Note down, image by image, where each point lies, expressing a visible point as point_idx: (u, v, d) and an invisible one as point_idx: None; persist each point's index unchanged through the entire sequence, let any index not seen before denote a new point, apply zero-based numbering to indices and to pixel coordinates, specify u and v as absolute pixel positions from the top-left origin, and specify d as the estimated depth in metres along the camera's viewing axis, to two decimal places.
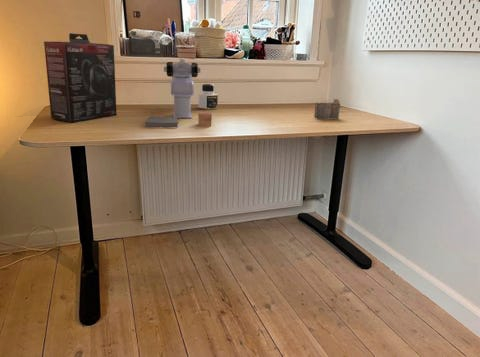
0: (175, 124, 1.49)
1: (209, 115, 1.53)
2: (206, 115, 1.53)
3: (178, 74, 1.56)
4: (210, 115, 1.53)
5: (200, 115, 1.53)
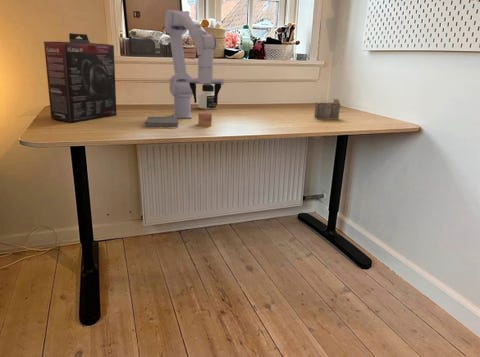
0: (175, 124, 1.49)
1: (209, 115, 1.53)
2: (206, 115, 1.53)
3: None
4: (210, 115, 1.53)
5: (200, 115, 1.53)
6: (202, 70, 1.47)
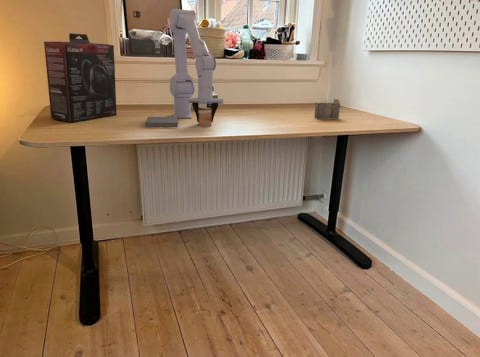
0: (175, 124, 1.49)
1: (209, 115, 1.53)
2: (206, 115, 1.53)
3: None
4: (210, 115, 1.53)
5: (200, 115, 1.53)
6: (201, 90, 1.50)
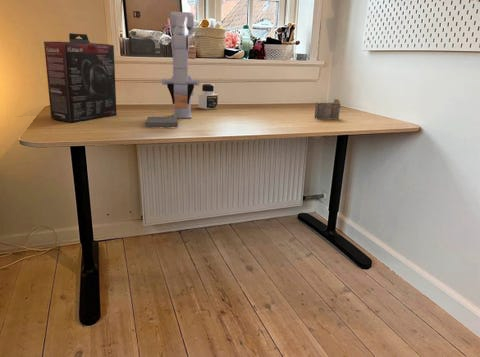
0: (175, 124, 1.49)
1: (185, 97, 1.49)
2: (182, 97, 1.49)
3: None
4: (186, 97, 1.49)
5: (175, 97, 1.49)
6: (176, 71, 1.46)
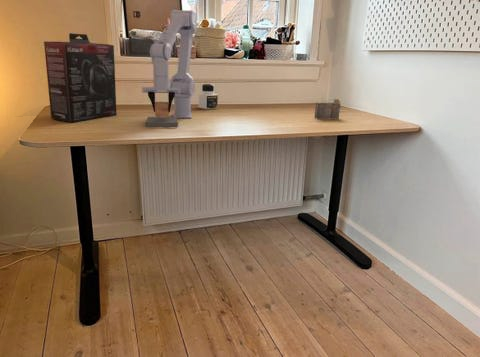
0: (175, 124, 1.49)
1: (165, 105, 1.49)
2: (162, 105, 1.49)
3: None
4: (167, 105, 1.49)
5: (156, 105, 1.49)
6: (157, 79, 1.46)
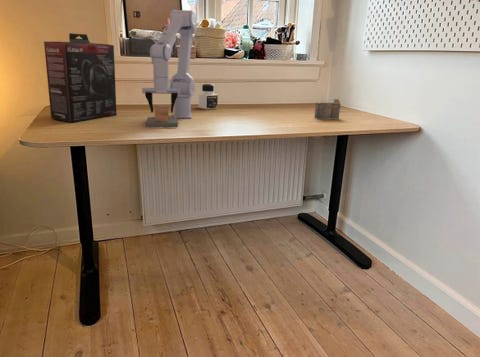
0: (175, 124, 1.49)
1: (165, 109, 1.50)
2: (162, 109, 1.50)
3: None
4: (166, 110, 1.50)
5: (156, 109, 1.49)
6: (157, 80, 1.46)
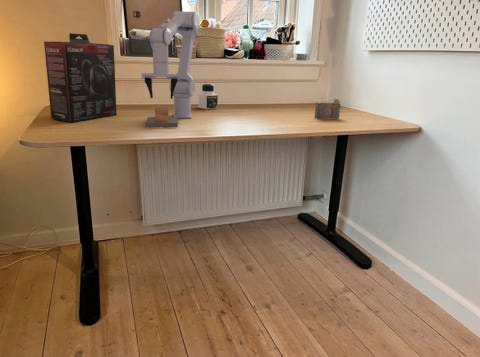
0: (175, 124, 1.49)
1: (165, 109, 1.50)
2: (162, 109, 1.50)
3: None
4: (167, 110, 1.50)
5: (156, 109, 1.49)
6: (156, 65, 1.44)
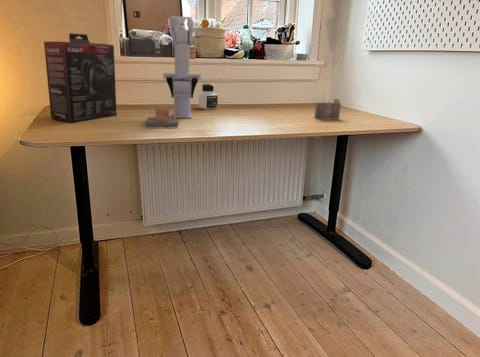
0: (175, 124, 1.49)
1: (166, 109, 1.50)
2: (163, 109, 1.50)
3: None
4: (167, 110, 1.50)
5: (157, 109, 1.49)
6: (178, 65, 1.49)
